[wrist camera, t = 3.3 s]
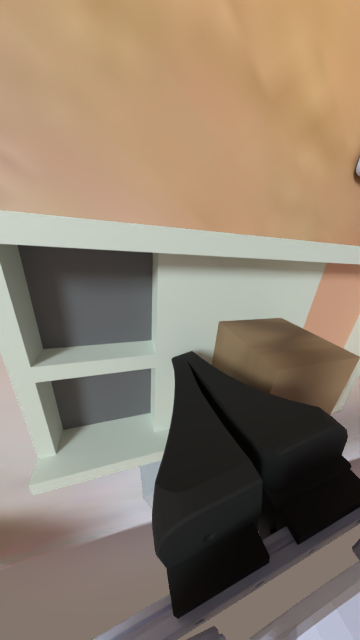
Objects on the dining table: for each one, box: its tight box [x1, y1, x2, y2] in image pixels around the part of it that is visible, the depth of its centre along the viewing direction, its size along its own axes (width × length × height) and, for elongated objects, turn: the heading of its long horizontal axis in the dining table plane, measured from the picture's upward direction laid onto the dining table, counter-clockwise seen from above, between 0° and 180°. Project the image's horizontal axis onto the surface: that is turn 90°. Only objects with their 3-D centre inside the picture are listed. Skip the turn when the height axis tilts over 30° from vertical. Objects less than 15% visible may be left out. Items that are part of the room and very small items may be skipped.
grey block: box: [140, 460, 162, 508], centre depth 17 cm, size 4×4×4 cm
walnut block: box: [212, 318, 360, 415], centre depth 11 cm, size 5×5×5 cm
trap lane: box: [0, 210, 360, 496], centre depth 13 cm, size 26×15×4 cm, turn 87°
